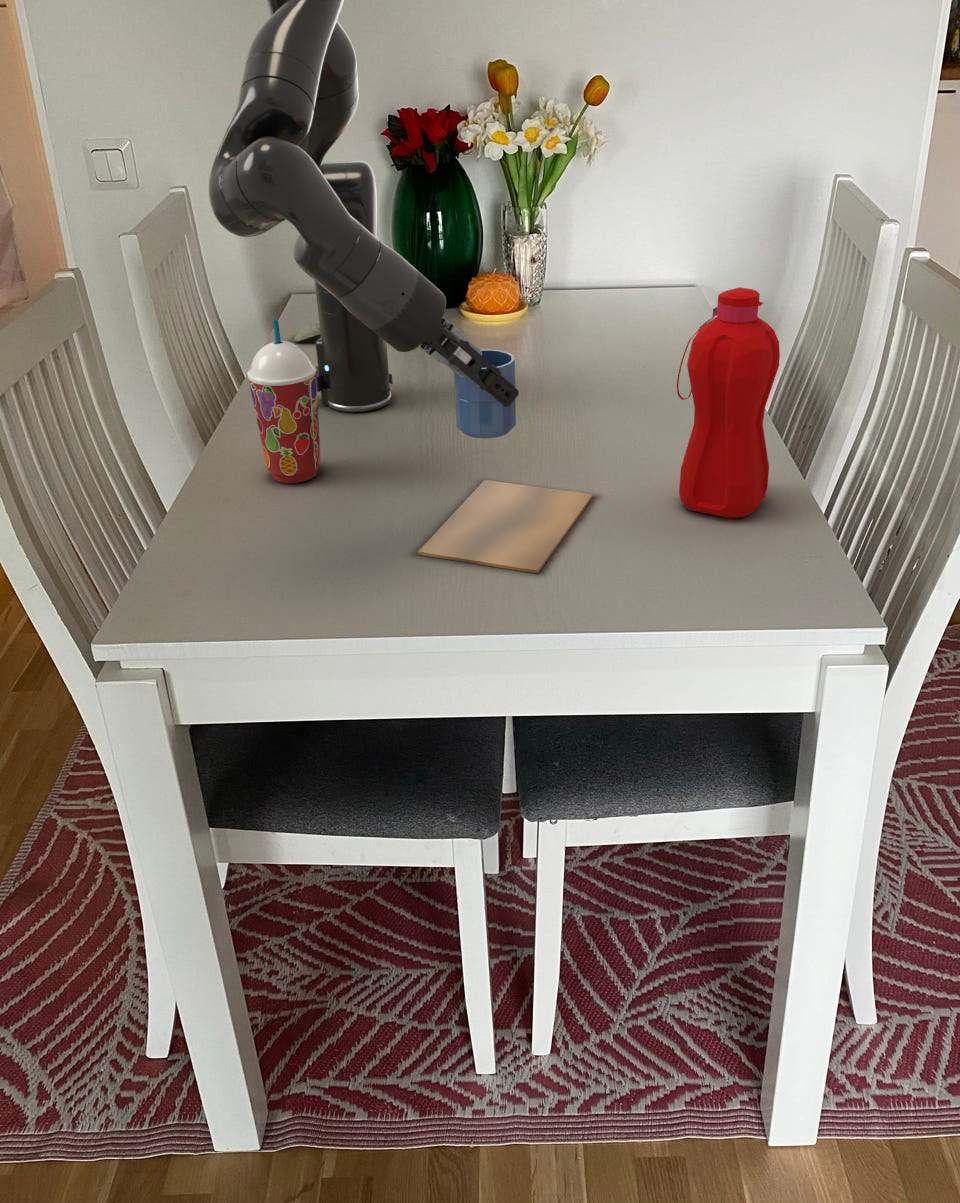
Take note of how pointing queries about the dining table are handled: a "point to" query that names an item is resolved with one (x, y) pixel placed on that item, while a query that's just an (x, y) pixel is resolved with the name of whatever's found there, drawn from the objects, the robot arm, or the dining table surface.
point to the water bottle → (729, 408)
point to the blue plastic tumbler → (485, 401)
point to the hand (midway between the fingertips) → (498, 388)
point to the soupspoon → (308, 332)
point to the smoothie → (286, 409)
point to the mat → (508, 526)
